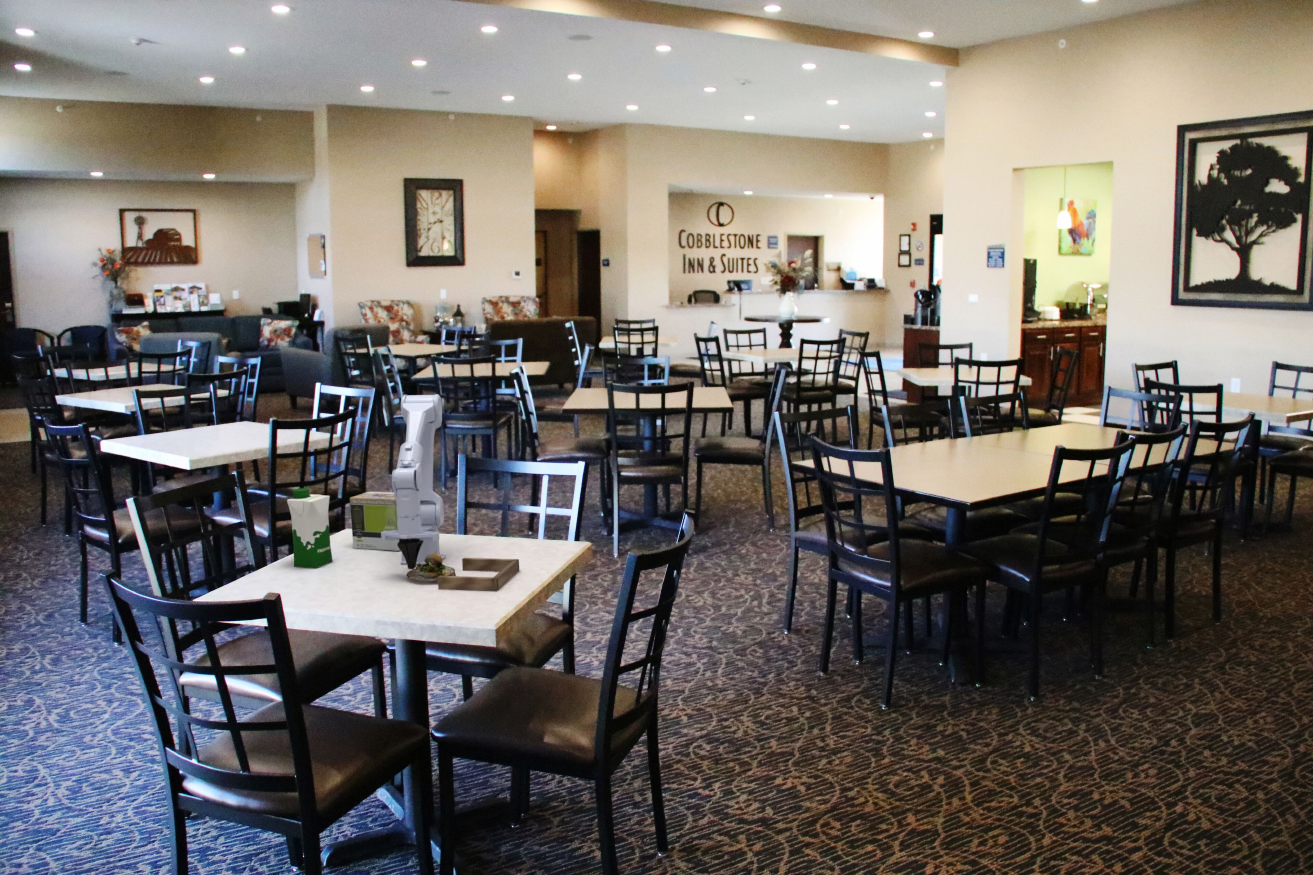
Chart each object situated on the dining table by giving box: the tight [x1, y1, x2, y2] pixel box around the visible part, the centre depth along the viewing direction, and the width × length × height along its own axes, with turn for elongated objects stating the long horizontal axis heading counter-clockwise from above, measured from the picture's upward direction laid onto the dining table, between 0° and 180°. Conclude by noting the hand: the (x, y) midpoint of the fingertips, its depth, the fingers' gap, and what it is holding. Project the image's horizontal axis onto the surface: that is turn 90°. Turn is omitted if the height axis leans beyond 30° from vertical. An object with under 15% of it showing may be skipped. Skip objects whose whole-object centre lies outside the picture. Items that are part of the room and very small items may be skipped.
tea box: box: [349, 491, 401, 552], centre depth 289 cm, size 15×10×15 cm
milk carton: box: [286, 487, 333, 569], centre depth 271 cm, size 9×9×20 cm
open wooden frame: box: [437, 557, 520, 592], centre depth 255 cm, size 15×17×3 cm
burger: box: [406, 547, 457, 582], centre depth 257 cm, size 12×12×8 cm
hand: (412, 568), depth 258 cm, fingers closed
